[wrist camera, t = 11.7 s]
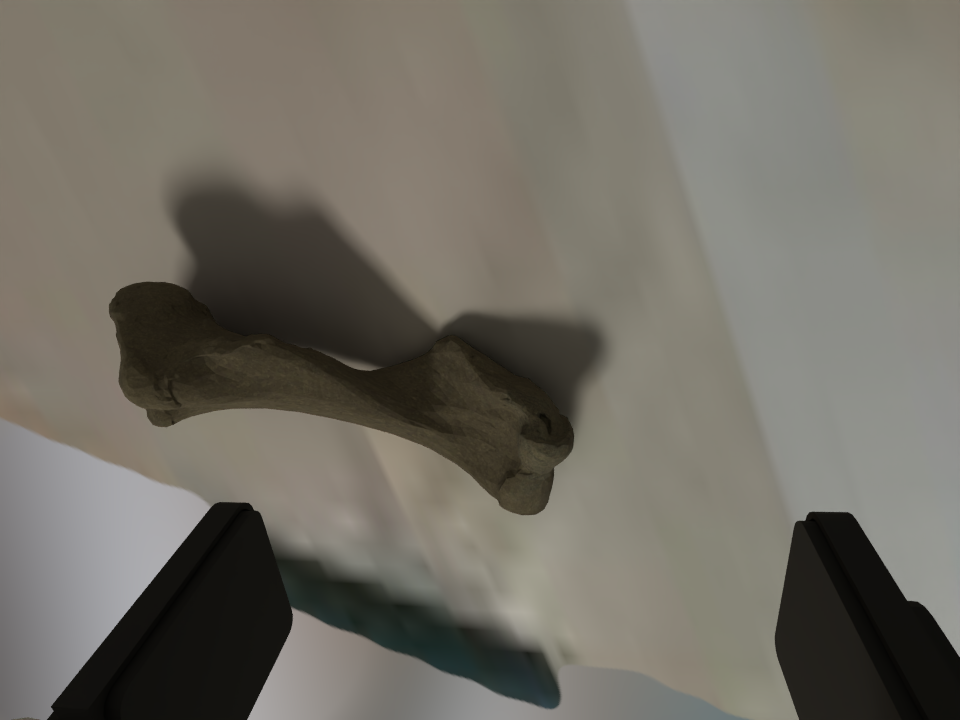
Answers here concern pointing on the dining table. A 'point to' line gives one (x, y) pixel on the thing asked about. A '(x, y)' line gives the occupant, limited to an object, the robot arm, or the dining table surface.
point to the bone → (344, 391)
